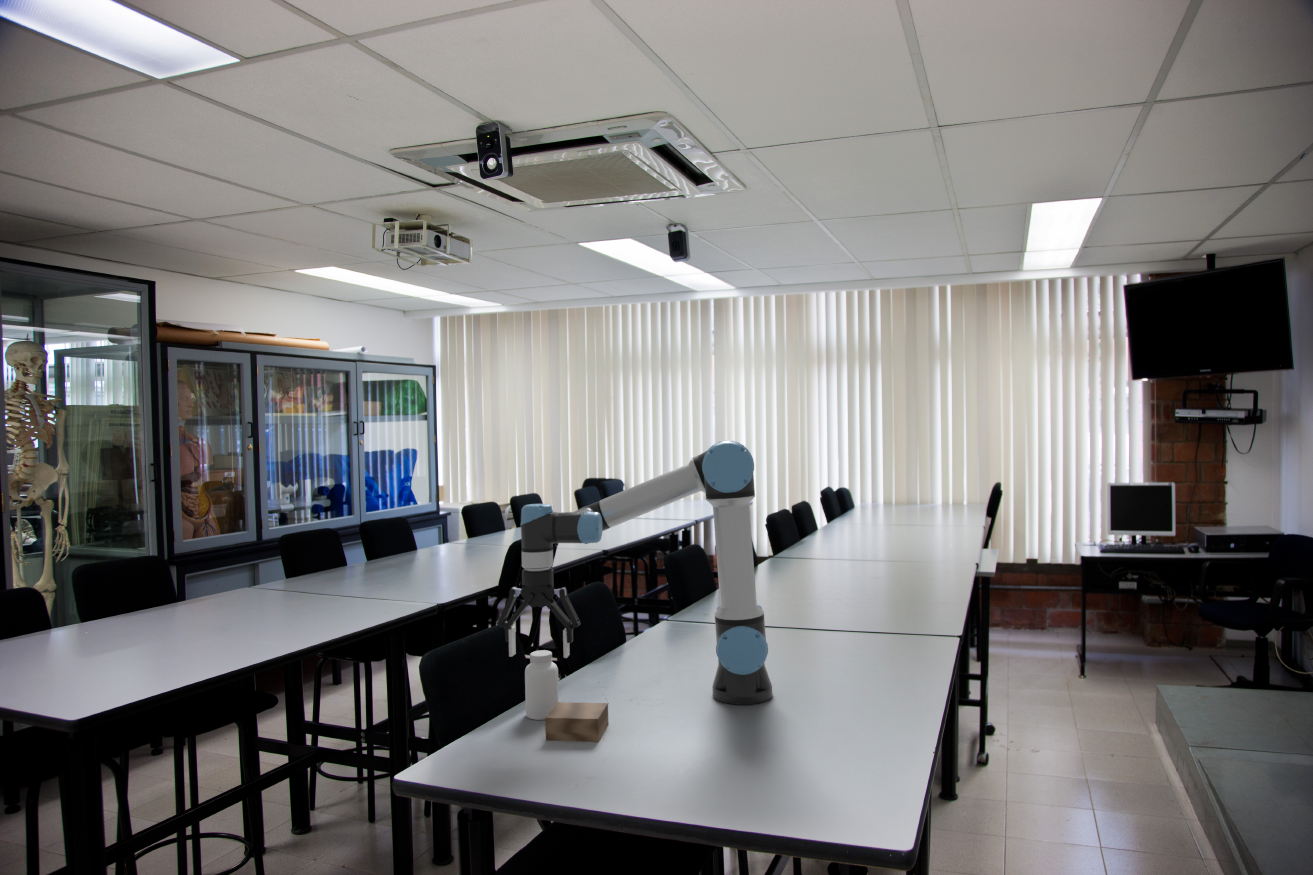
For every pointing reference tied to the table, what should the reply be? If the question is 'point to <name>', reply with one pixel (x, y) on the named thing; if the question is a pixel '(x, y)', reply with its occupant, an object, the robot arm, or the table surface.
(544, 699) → the pill bottle
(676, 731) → the table surface
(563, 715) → the walnut stand
